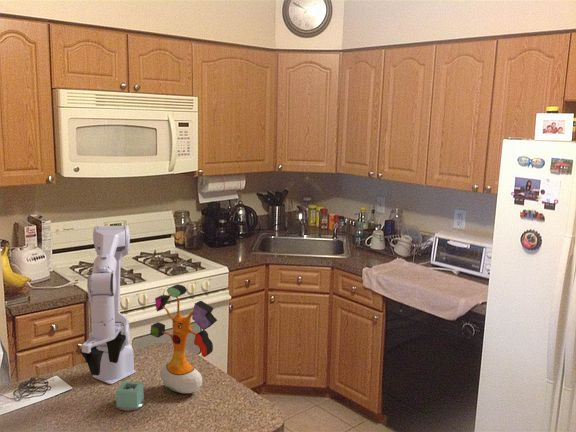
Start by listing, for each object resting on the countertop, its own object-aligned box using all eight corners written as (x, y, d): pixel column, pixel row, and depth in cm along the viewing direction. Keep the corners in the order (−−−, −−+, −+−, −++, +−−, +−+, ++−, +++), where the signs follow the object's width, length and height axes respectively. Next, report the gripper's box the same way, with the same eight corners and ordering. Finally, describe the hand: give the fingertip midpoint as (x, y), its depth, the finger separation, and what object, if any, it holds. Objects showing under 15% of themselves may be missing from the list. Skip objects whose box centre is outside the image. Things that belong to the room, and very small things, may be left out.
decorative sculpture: (222, 393, 152) (222, 288, 147) (206, 406, 145) (206, 297, 139) (163, 377, 160) (161, 277, 155) (145, 389, 153) (143, 285, 148)
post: (131, 395, 150) (131, 379, 149) (150, 402, 146) (149, 387, 145) (111, 406, 144) (110, 390, 143) (129, 414, 140) (129, 397, 139)
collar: (124, 396, 147) (123, 380, 147) (143, 397, 147) (143, 382, 146) (116, 407, 142) (116, 390, 141) (137, 408, 142) (136, 392, 141)
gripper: (107, 307, 149) (109, 354, 151) (70, 326, 135) (72, 377, 138) (129, 310, 147) (131, 358, 149) (94, 330, 133) (96, 382, 136)
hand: (104, 368), depth 143 cm, fingers open, 7 cm apart
